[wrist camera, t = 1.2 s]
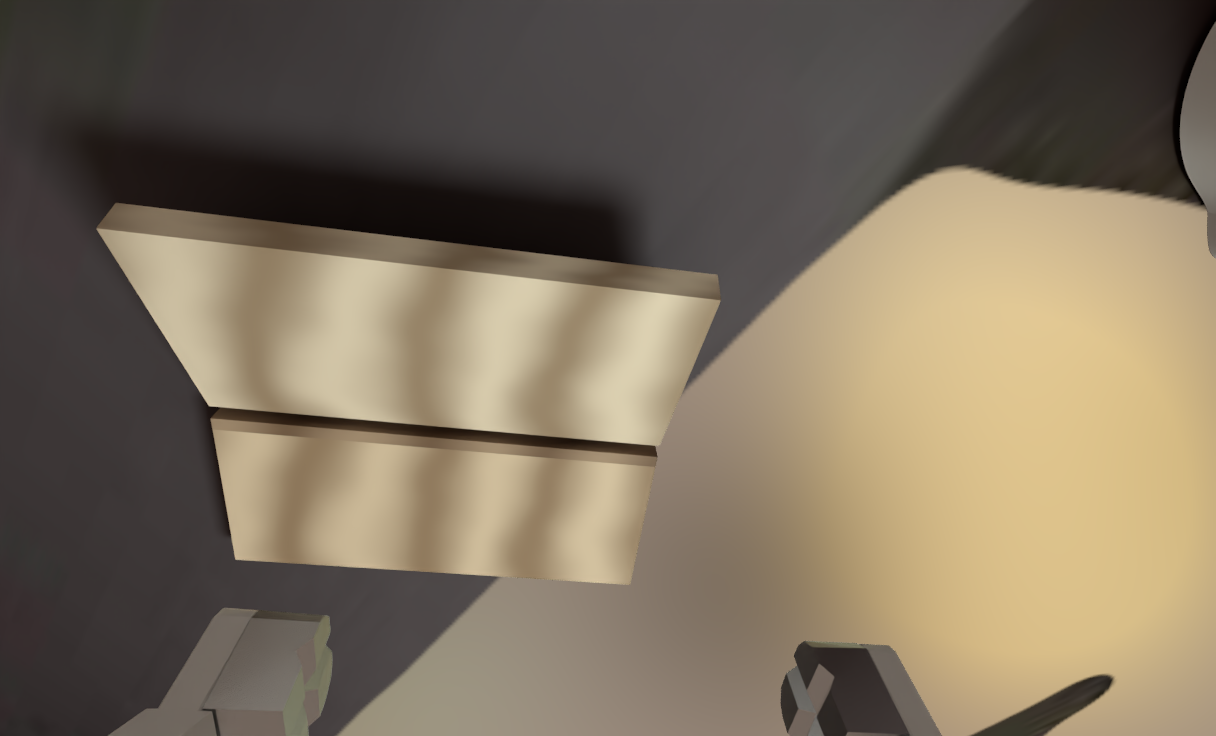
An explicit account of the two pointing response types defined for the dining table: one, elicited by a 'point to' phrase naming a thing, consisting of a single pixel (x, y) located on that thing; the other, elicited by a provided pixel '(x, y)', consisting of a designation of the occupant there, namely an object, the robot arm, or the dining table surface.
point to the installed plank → (431, 497)
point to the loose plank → (415, 326)
